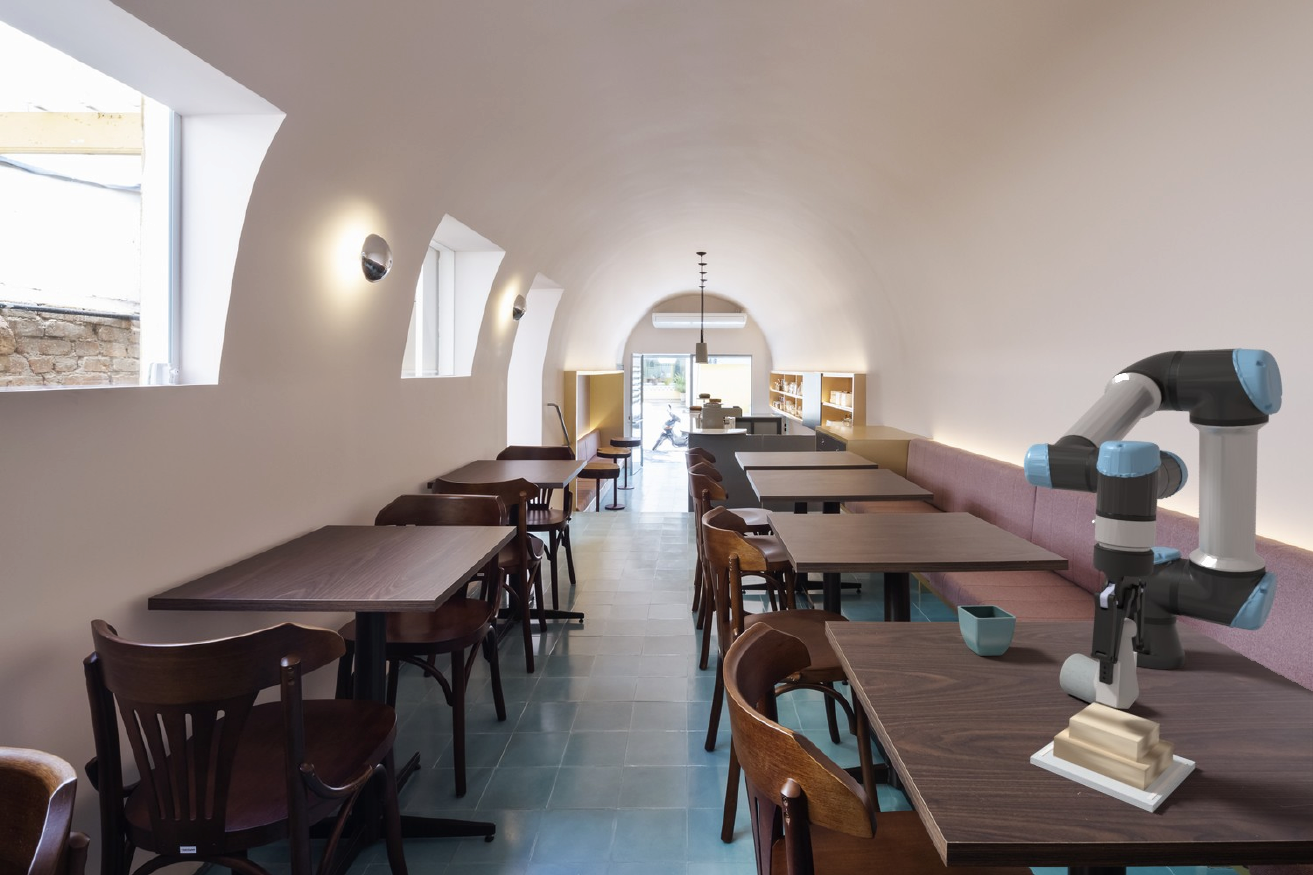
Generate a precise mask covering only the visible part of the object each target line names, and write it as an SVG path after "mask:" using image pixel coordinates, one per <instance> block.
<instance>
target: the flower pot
mask: <svg viewBox="0 0 1313 875" xmlns="http://www.w3.org/2000/svg"><path fill="white" fill-rule="evenodd" d="M957 613H958V621H959V622H958V624H959V629H960V633H961V636H962V638H963V641H964V642H965V644H966V646H967V647H968V648H969V649H970V650H972V652H974V653H975V654H977V655H978V656H980V657H983V656H990V657H991V656H1003V655H1004V654H1005V653H1006V651H1008V648H1010V645H1011V643H1012V641H1013V639H1014V633H1015V628H1016V622H1017V617H1016V616H1015V615H1014V614H1012V613H1010V612H1008V611H1006V610H1005V609H1003V608H1001V607H1000V606H998V605H996V604H995V605H994V604H993V605H992V604H991V605H984V604H983V605H958V606H957Z"/></svg>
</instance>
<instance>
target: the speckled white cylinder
mask: <svg viewBox="0 0 1313 875" xmlns="http://www.w3.org/2000/svg"><path fill="white" fill-rule="evenodd" d="M1097 666H1098V660H1095V659H1094V658H1092V657H1088V656H1087V655H1085V654H1082V653H1073V654H1071V655H1070V656H1069V657H1068V658H1066V659H1065V661H1064V662H1063V664H1062V666H1061V669H1060V674H1059V684H1060V687H1061V689H1062V690H1063V691H1064V692H1065V693H1067V694H1068V695H1071V696H1074V697H1075V698H1078V699H1080V700H1083V701H1085V702H1087V703H1089V704H1090V705H1091V704H1092V703H1097V704H1100V705H1104V706H1107V707H1110V708H1113V707H1111V706H1108V705H1105V704H1103V703H1101V702H1098V701H1096V690H1095V688H1094V682H1093V681H1094V677H1095V674H1096V670H1097Z"/></svg>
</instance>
